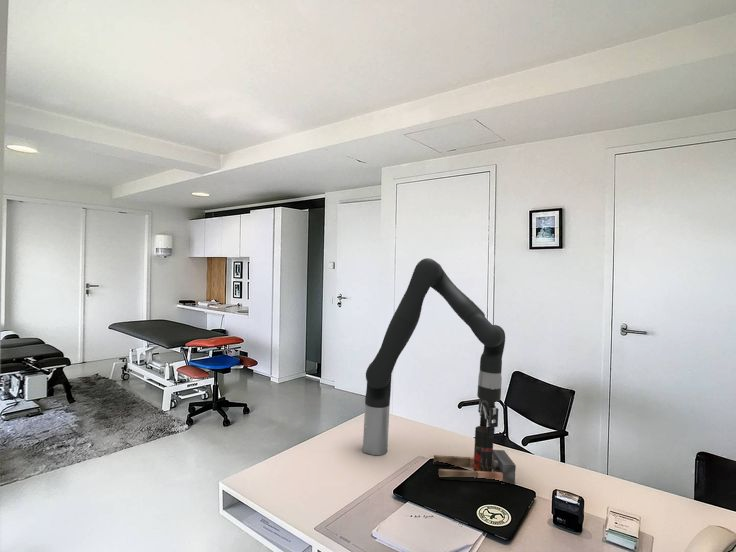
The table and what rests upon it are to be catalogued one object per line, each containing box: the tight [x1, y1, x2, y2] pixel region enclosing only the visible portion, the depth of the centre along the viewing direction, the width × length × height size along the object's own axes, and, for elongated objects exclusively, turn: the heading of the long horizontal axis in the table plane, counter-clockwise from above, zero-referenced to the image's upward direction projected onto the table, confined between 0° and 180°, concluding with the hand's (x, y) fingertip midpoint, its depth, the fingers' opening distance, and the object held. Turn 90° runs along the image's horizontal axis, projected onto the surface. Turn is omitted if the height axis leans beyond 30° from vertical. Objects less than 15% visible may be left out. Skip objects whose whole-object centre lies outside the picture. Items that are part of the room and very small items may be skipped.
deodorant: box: [472, 425, 494, 472], centre depth 133 cm, size 6×6×15 cm
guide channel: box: [433, 449, 517, 485], centre depth 133 cm, size 24×11×6 cm, turn 89°
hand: (486, 432), depth 133 cm, fingers open, 8 cm apart
